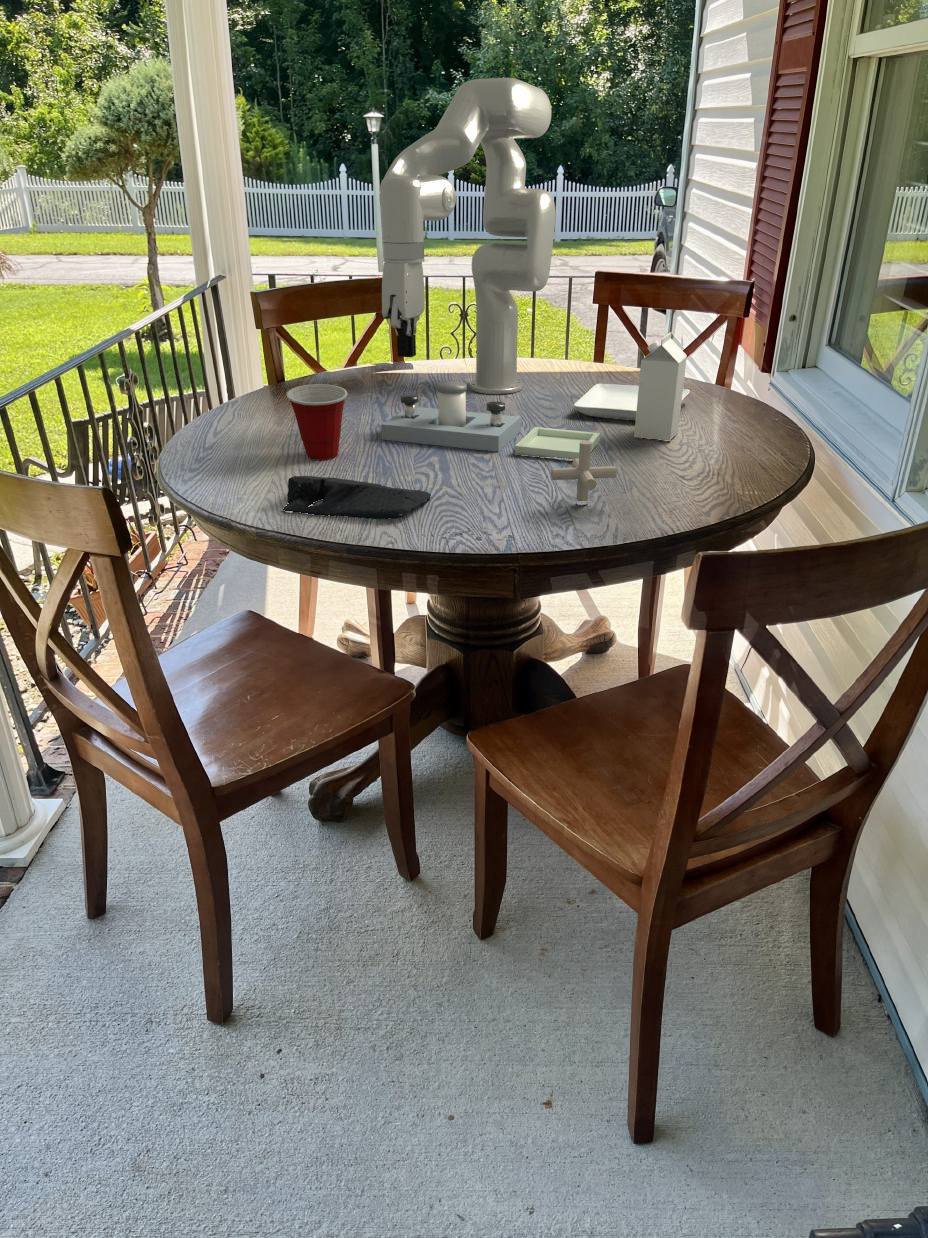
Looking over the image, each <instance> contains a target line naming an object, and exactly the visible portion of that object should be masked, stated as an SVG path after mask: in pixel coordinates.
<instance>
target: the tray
mask: <svg viewBox="0 0 928 1238" xmlns="http://www.w3.org/2000/svg"><path fill="white" fill-rule="evenodd" d="M600 440H601V433H600V432H591V431H582V430H581V431H580V430H571V429H560V428H551V427H550V428H549V427H542V426H541V427H540V426H539V427H538V426H534V427H533V428H532V429H531V430H530V431H529V432H528V433H527V434H526V435H525V436H524V437H522V438H521V440H520V441H519V442H517V444H515V445H514V456H516V454H517V455H528V456H539V457H557V458H566V459H567V458H568V459H577V458H579V447H580V442H581V441H590V442H592V447H591V451H592V449H593V448H594V447H595V446H596V444H597V443H598V442H599V441H600ZM596 447H597V446H596Z"/></svg>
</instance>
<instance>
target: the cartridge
mask: <svg viewBox="0 0 928 1238" xmlns="http://www.w3.org/2000/svg"><path fill="white" fill-rule="evenodd" d="M467 387H468V385H467V383H466V382H465V381H464V382H463V381H457V380H456V381H455V380H448V381H446V380H445V381H441V382H438V383H436V391H437V409H438V425H446V426H456V427H464V426H465V425H466V412H467V410H466V409H467V406H466V405H467V404H466V403H467V402H466V400H467V399H466V398H467V396H466V394H467V393H466V392H467V390H468V389H467Z"/></svg>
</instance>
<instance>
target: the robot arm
mask: <svg viewBox="0 0 928 1238" xmlns="http://www.w3.org/2000/svg"><path fill="white" fill-rule="evenodd" d="M551 121H552V106H551V101H550V99H549V96H548V95H547V93H546V92H545V91H544V90H543V89H541V88H540V87H537V86H534V85H532V84H530V83H528V82H526V81H524V80H520V79H518V78H514V77H494V78H492V77H491V78H476V79H470V80H468V81H465V82H464V83H462V84H461V85H460V86H459V88H458V89H457V90H456V92H455V94H454V96H453V98H452V99H451V101H450V103H449V105H448V106H447V108H446V110H445V111H444V113H443V115H442V117H441V119H440V120H439V122H438V124H437V125H436V127H435V128H434V129H433V130H431V131H429V132H428V133H426V134H424V135H423V136H421V137H420V138H419V139H417V140H416V141H414V142H413V143H412V144H410V145H409V146H407V147H406V148H404V149H403V150H402V151H401V152H400V153H398V155H397V156H395V159H394V160H392V163H391V164H390V166H389V168H388V170H387V171H386V173H385V175H384V177H383V179H381V183H380V188H379V204H380V212H381V213H380V214H381V215H380V216H381V217H380V218H381V236H382V238H381V239H382V260H383V261H382V262H383V267H382V276H381V277H382V278H381V279H382V281H381V313H382V317H383V319H384V320H389V319H390V327H391V328H393V329H395V335H396V344H397V345H396V349H397V351H396V352H397V357H400V358H401V357H402V358H414V357H415V356H417V343H416V341H417V340H416V339H417V337H416V334H417V323H418V322H419V320H420V317H421V315H422V314H424V311H425V303H426V302H425V301H426V300H425V298H426V297H425V295H426V294H425V280H424V278H425V277H424V268H423V262H425V236H424V235H425V234H424V221H432V222H433V221H435V222H436V221H442V220H445V219H447V218H448V217H449V216H450V215H451V214H452V213H453V211H454V209H455V206H456V203H457V194H456V190H455V189H456V188H455V187H454V185H453V183H452V182H451V181H450V180H449V179H447V178H446V177H444V176H443V175H444V174H446V173H449V172H452V171H455V170H457V169H459V168H461V167H464V166H465V165H467V164H468V163H469V162H470V161H471V160H472V159H473V157H474V155H475V153H476V151H477V150H478V148H479V146H480V145H481V147H482V150H483V152H484V157H485V163H486V173H485V185H484V186H485V187H484V198H483V199H484V200H483V209H482V210H483V211H482V213H483V214H482V221H483V222H482V223H483V226H484V227H483V228H484V230H485V231H486V233H488V234H489V235H492V236H496V237H506V238H525V239H526V240H527V242H526V243H527V244H525V243H512V242H510V243H509V242H490V243H489V242H488V243H485V244H483V245H480V246H479V247H478V248H476V250H475V251H474V253H473V255H472V258H471V273H472V274H471V275H472V279H473V284H474V293H475V311H476V313H475V316H476V322H475V330H476V331H475V342H476V343H475V348H476V350H475V351H476V353H475V355H476V360H475V361H476V363H475V364H476V365H475V366H476V368H475V369H476V373H475V374H476V377H475V378H476V379H474V380H472V381H470V382H469V389H470V390H471V391H473V392H475V393H479V394H486V395H505V394H506V395H507V394H513V393H517V392H519V391H521V390H523V388H524V383H523V381H521V380H519V379H517V375H518V374H517V371H518V366H517V363H518V362H517V361H518V329H519V327H518V326H519V325H518V324H519V323H518V322H519V312H518V311H519V309H518V306H517V303H516V300H515V298H514V297H513V295H512V293H511V292H510V291H515V292H516V291H517V292H530V293H531V292H535V293H536V292H539V291H541V290H543V289H544V288H545V287H546V285H547V283H548V281H549V277H550V271H551V266H552V265H551V264H552V258H553V257H552V256H553V246H554V245H553V244H554V237H555V227H556V214H557V213H556V206H555V200H554V198H553V196H552V194H551V193H550V192H548V191H547V190H545V189H541V188H526V173H527V161H526V158H525V155H524V154H523V151H522V150H521V148H520V146H519V145H518V144H517V141H516V140H515V139H537V138H539V137H542V136H543V135H544V134H545V133H547V131H548V129H549V127H550V124H551ZM442 174H443V175H442Z"/></svg>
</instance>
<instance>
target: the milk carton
mask: <svg viewBox="0 0 928 1238" xmlns="http://www.w3.org/2000/svg"><path fill="white" fill-rule="evenodd" d="M647 350H648V351H649V353H648V354H647V355H646V356H644V357H643V358H642V359H641V361H640V369H639V377H638V378H639V380H638V381H639V382H638V386H639V389H638V400H637V411H636V421H634V422H635V423H634V435H633V437H643V438H651V439H661V440H671V439H672V438H673V436H674V435H675V434H676V433H677V432H679V425H680V418H681V408H682V402H683V401H682V393H683V389H684V385H685V383H684V382H685V374H686V367H687V357H688V356H687V354H686V353H685V352H684V351H683V350H682V349H681V348H680V346H679V345H677V344H676V342H675V340H673V339H672V332H671V331H670V332H669V333H668V334H666V335H665V336H664V337H662V338H661V342H660V343H659V341H658V340H655V341H654V342H652V343H651V344H650V345H648V346H647ZM677 434H678V433H677ZM677 434H676V435H677ZM676 435H675V436H676ZM673 439H674V438H673ZM673 439H672V440H673ZM672 440H671V441H672Z"/></svg>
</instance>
